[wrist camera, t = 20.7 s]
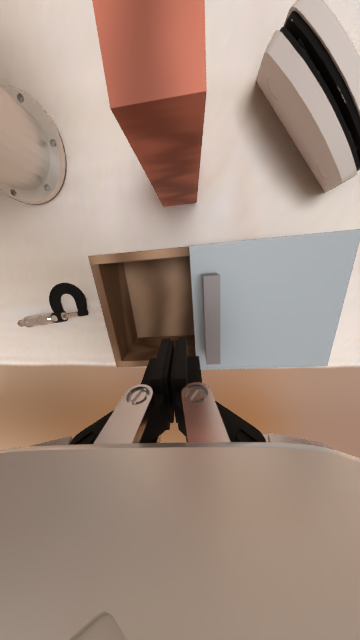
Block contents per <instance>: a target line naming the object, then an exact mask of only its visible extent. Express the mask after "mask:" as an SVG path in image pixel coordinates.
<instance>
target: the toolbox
mask: <svg viewBox="0 0 360 640" xmlns="http://www.w3.org/2000/svg"><path fill="white" fill-rule="evenodd" d="M88 257H89V261H90V265H91V269H92V273H93V277H94V280H95V284H96V288H97V292H98V296H99V300H100V304H101V308H102V312H103V315H104V319H105V323H106V327H107V331H108V335H109V339H110V343H111V347H112V350H113V354H114V358H115V362H116V366H117V367H136V366H147V365H148V363H149V360H150V358H156V357H157V353H158V350H159V347H160V343H161V340H162V339H168V338H170V340H173V342H174V347H175V340H178V338H185V337H186V338H187V349H188V356H196V350H195V334H194V317H193V301H192V284H191V268H190V251H189V247H178V248H168V249H158V250H148V251H137V252H127V253H117V254H106V255H96V256H88Z"/></svg>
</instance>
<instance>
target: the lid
mask: <svg viewBox="0 0 360 640" xmlns="http://www.w3.org/2000/svg"><path fill="white" fill-rule="evenodd" d="M359 241H360V229H355V230H345V231H335V232H325V233H314V234H304V235H294V236H284V237H273V238H263V239H253V240H242V241H232V242H222V243H212V244H201V245H191V246H189V251H190V268H191V284H192V301H193V317H194V334H195V350H196V356H199V360H200V369H201V370H214V369H249V368H282V367H315V366H327V365H328V361H329V357H330V353H331V349H332V345H333V341H334V338H335V334H336V330H337V326H338V322H339V318H340V315H341V311H342V307H343V303H344V299H345V295H346V291H347V288H348V284H349V280H350V276H351V272H352V268H353V264H354V261H355V257H356V253H357V249H358V245H359Z"/></svg>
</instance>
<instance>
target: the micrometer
mask: <svg viewBox="0 0 360 640" xmlns="http://www.w3.org/2000/svg"><path fill="white" fill-rule="evenodd" d="M65 293H67V294H70V295H71V296H73V298H74V299H75V302H76V305H77V309H78V312H74V313H68V314H66V313H65V311H63V308H62V305H61V296H62V295H63V294H65ZM49 302H50V306H51V308H52V310H53V311H54V313H49V314H42V315H37V316H30V317H25V318H24V319H23V320H19V321H18V325H19V326H21V327H22V326H26V327H34V326H39V325H47V324H52V323H58V322H64V321H67V320H68V318H69V317H75V316H85V315H88V311H87V310H86V308H87V305H86V298H85V296H84V294H83V293H82V291H81V290H80V289H79V288H77V287H76V286H74V285H72V284H69V283H60V284H57V285H56V286H54V287H53V289H52V290H51V292H50V296H49Z"/></svg>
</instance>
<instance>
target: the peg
mask: <svg viewBox="0 0 360 640" xmlns="http://www.w3.org/2000/svg"><path fill="white" fill-rule="evenodd" d="M92 1H93V7H94V13H95V19H96V25H97V31H98V37H99V43H100V49H101V55H102V60H103V66H104V72H105V78H106V84H107V90H108V96H109V102H110V108H111V110H112V112H113V114H114V116H115V118H116V119H117V121H118V123H119V125H120V127H121V129H122V130H123V132H124V134H125V136H126V138H127V140H128V141H129V143H130V145H131V147H132V149H133V151H134V153H135V154H136V156H137V158H138V160H139V162H140V164H141V165H142V167H143V169H144V171H145V173H146V175H147V176H148V178H149V180H150V182H151V184H152V186H153V188H154V189H155V191H156V193H157V195H158V197H159V199H160V200H161V202H162V204H163V206H171V205H179V204H188V203H196V202H197V191H198V180H199V168H200V157H201V146H202V135H203V124H204V112H205V101H206V51H205V7H204V0H92Z"/></svg>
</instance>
